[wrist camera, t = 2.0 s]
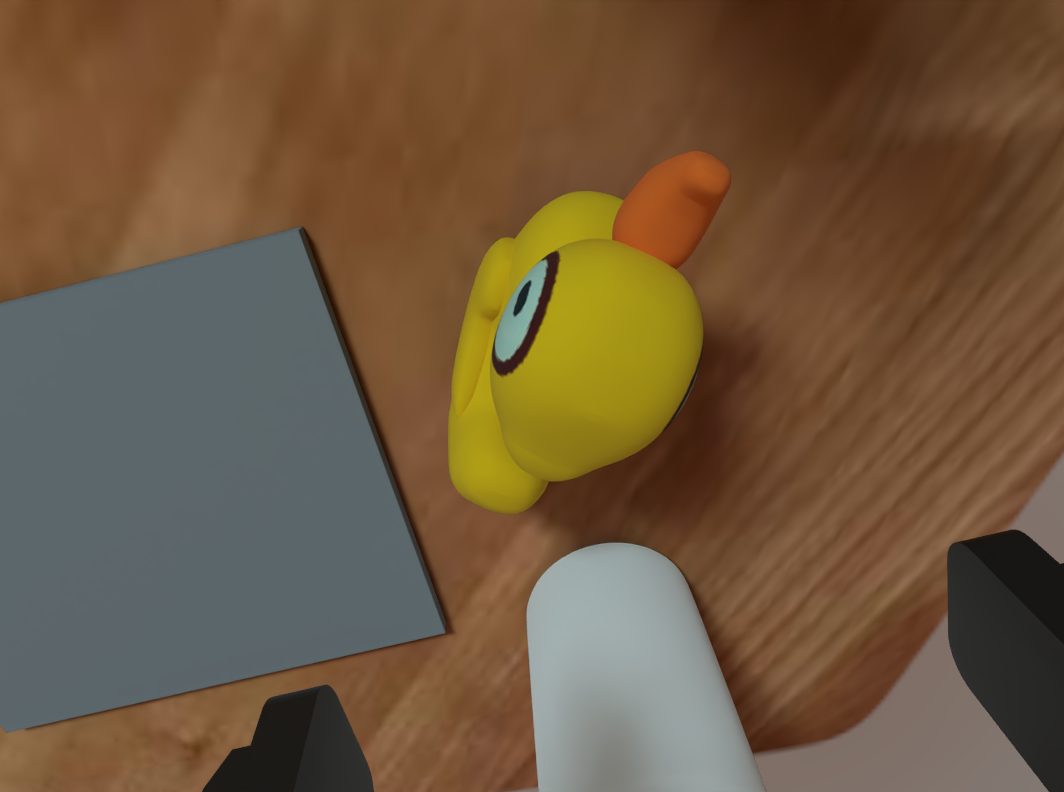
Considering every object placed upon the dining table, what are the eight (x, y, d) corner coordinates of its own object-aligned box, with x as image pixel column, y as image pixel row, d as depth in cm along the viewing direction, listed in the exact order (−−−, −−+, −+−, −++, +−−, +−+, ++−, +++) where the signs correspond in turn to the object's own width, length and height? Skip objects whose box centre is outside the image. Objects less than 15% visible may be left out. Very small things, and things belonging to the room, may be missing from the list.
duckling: (560, 77, 23) (611, 98, 14) (715, 161, 24) (857, 232, 15) (408, 399, 27) (369, 582, 18) (548, 457, 28) (579, 657, 19)
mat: (302, 226, 24) (298, 230, 23) (446, 622, 31) (445, 633, 30) (-239, 363, 25) (-255, 370, 24) (14, 720, 31) (6, 732, 31)
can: (510, 553, 29) (526, 853, 19) (679, 520, 29) (795, 803, 18) (542, 680, 32) (572, 1008, 21) (697, 650, 32) (808, 966, 21)
